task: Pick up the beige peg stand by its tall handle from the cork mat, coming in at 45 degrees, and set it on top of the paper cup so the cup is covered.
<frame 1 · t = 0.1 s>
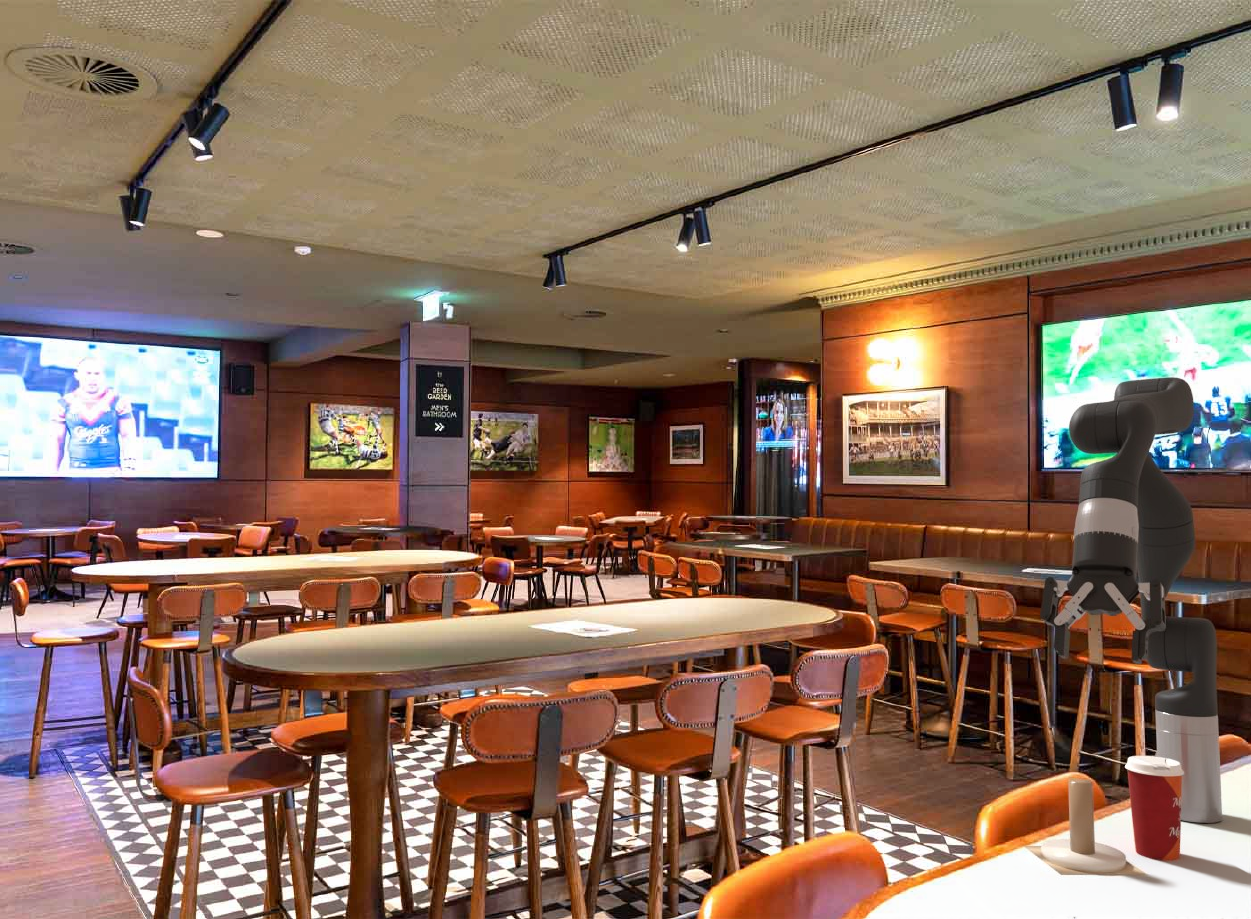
hand: (1098, 659, 120), 31 cm above the table, tool tilted 20°, fingers open, 8 cm apart
cork mat: (1083, 864, 137), on the table
beige peg stand: (1082, 859, 137), point 1 cm above the table, touching cork mat
paper cup: (1157, 859, 140), on the table
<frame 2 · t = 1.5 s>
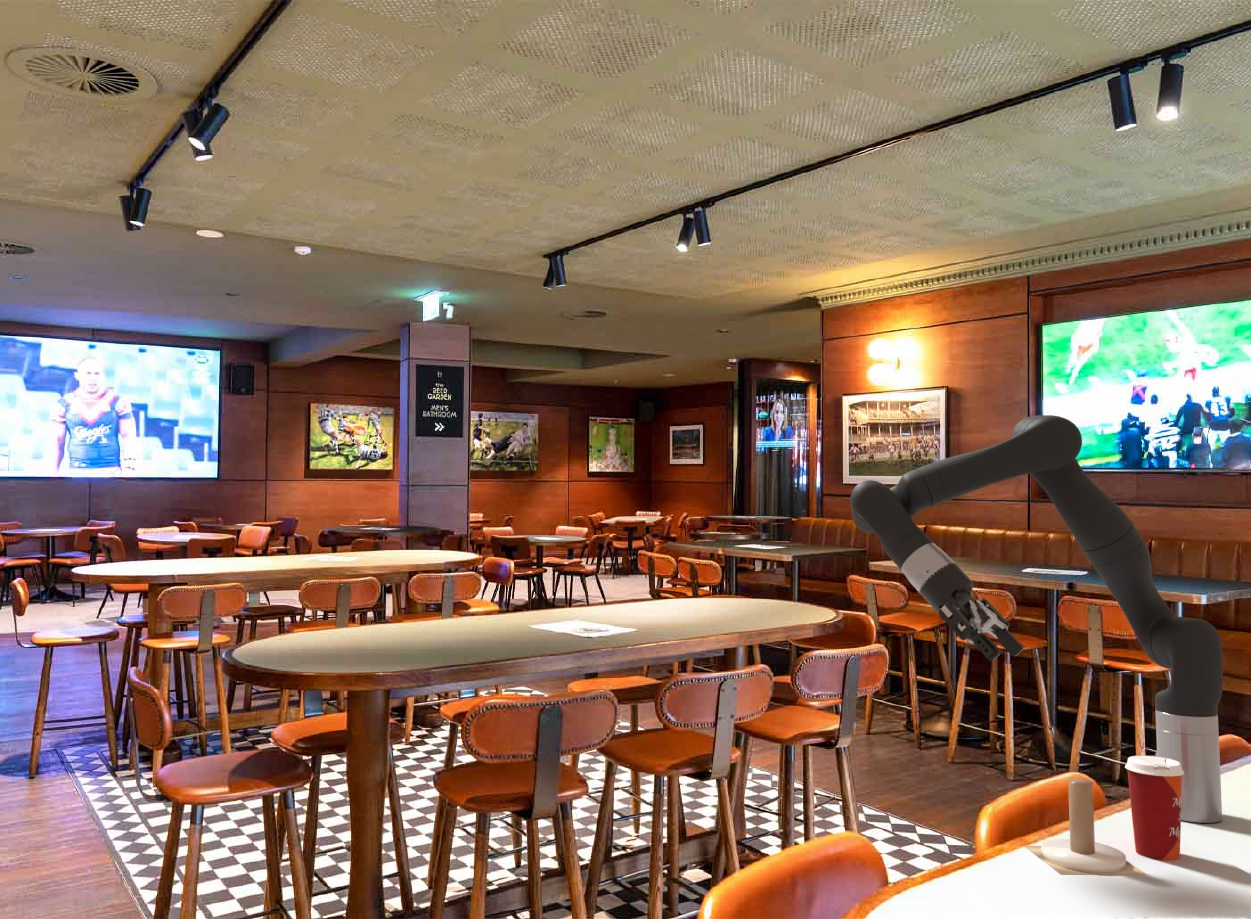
hand: (1007, 655, 147), 29 cm above the table, tool tilted 45°, fingers open, 8 cm apart
nothing on the table moved.
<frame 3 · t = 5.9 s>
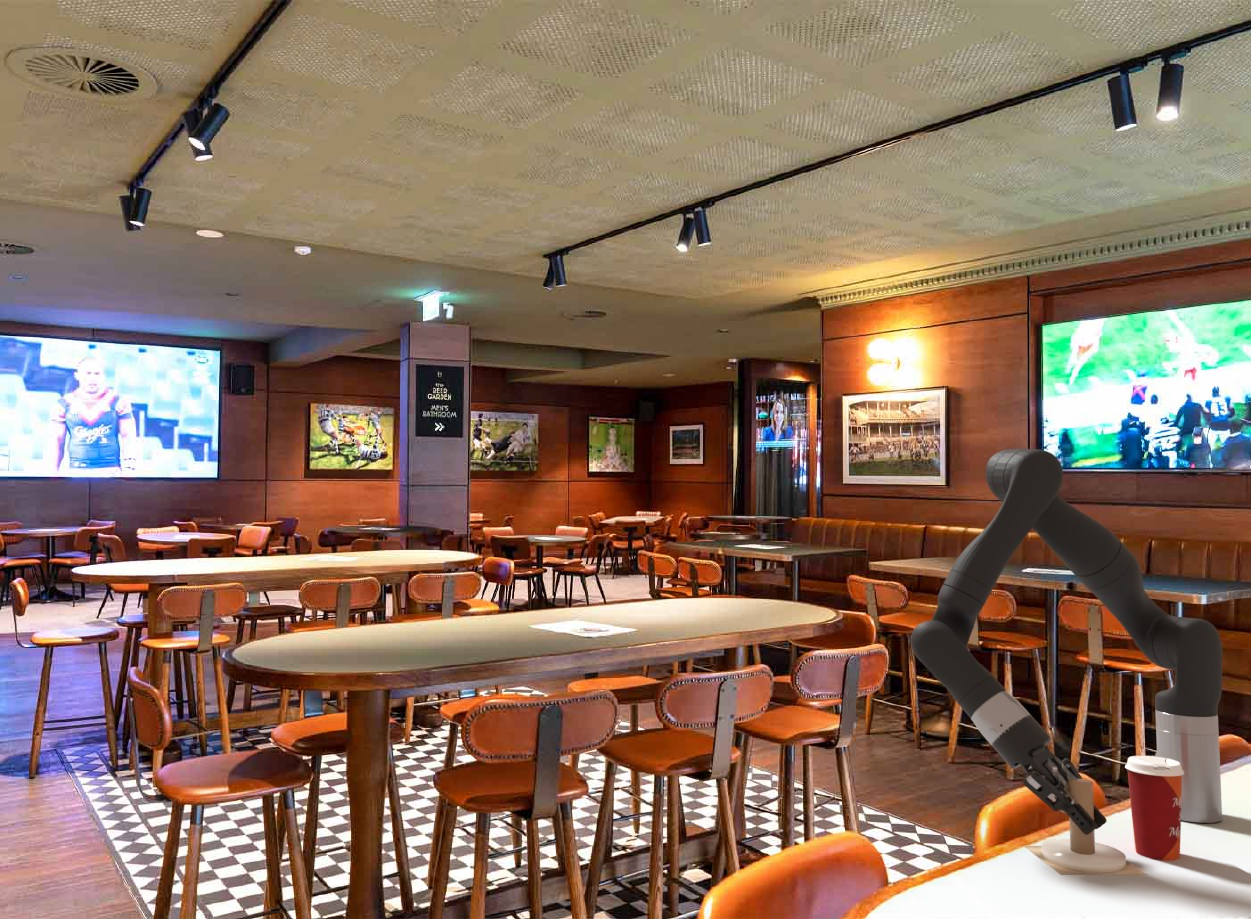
hand: (1096, 827, 136), 5 cm above the table, tool tilted 45°, fingers closed on beige peg stand, 3 cm apart
beige peg stand: (1082, 859, 137), point 1 cm above the table, touching cork mat, gripper
everything else where it was.
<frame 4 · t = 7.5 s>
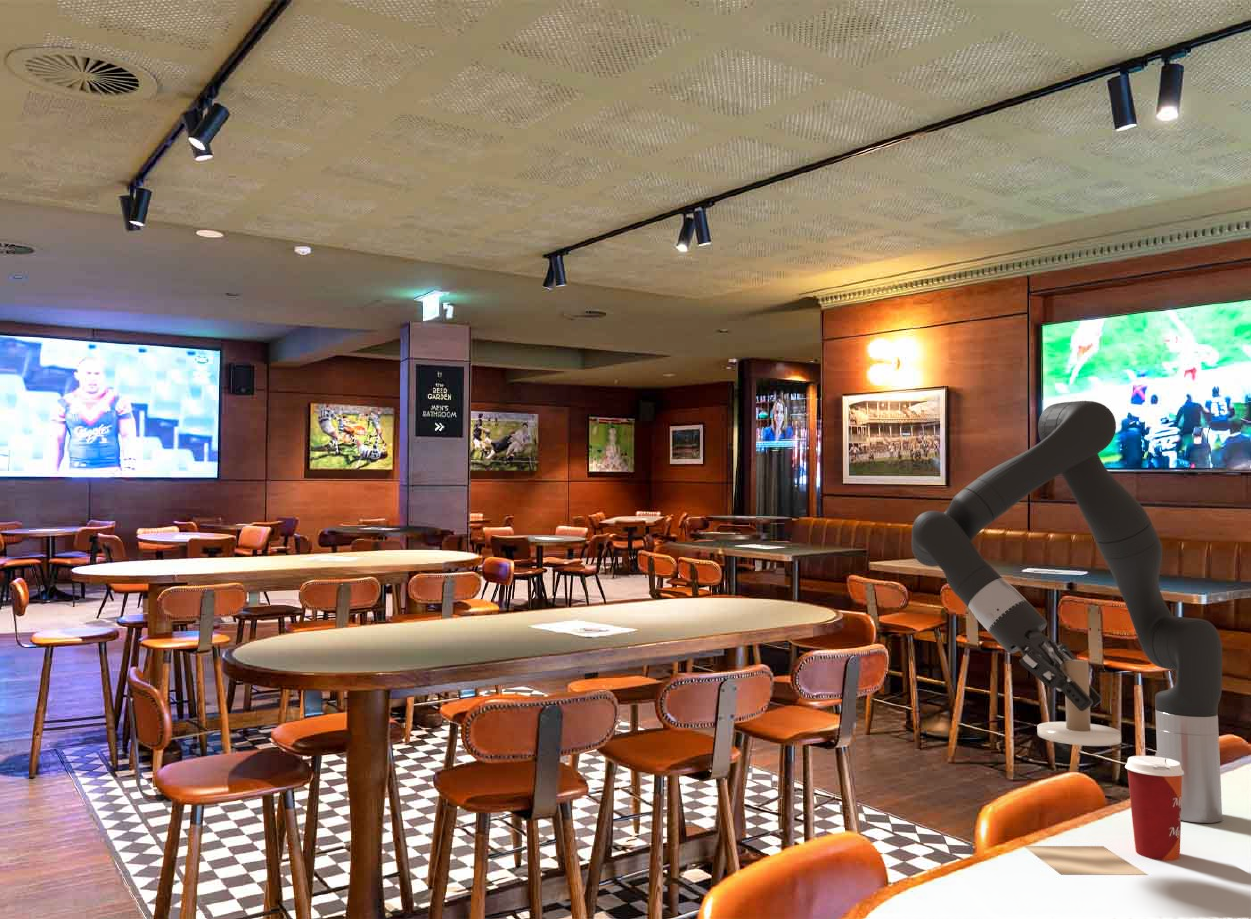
hand: (1092, 705, 137), 23 cm above the table, tool tilted 45°, fingers closed on beige peg stand, 3 cm apart
beige peg stand: (1078, 737, 138), point 18 cm above the table, touching gripper
everything else where it was.
when the fingers open (20 cm above the table, at t = 9.5 s): beige peg stand drops 1 cm, resting on paper cup.
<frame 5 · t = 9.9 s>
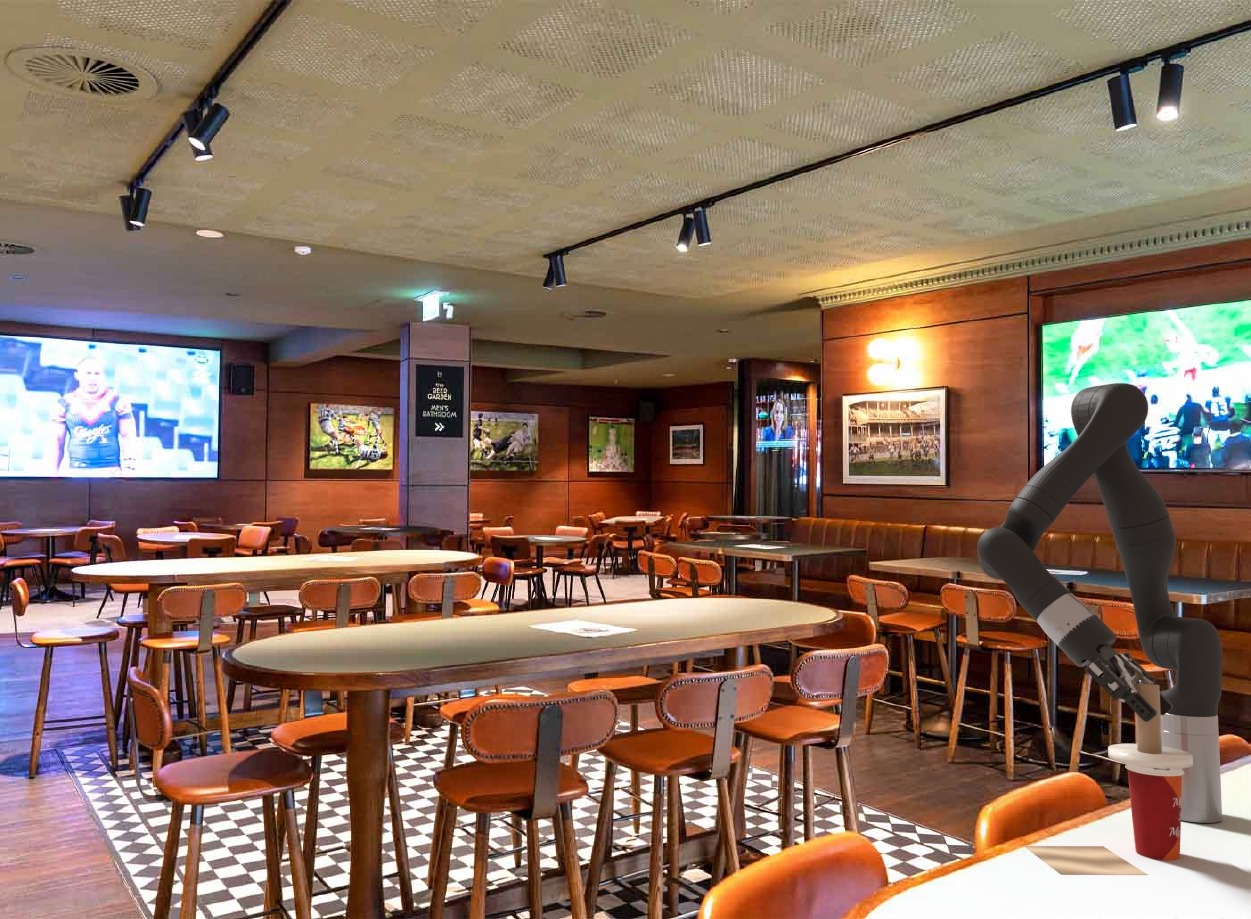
hand: (1160, 714, 140), 21 cm above the table, tool tilted 45°, fingers open, 7 cm apart
beige peg stand: (1149, 759, 141), point 14 cm above the table, touching paper cup
paper cup: (1157, 859, 140), on the table, touching beige peg stand
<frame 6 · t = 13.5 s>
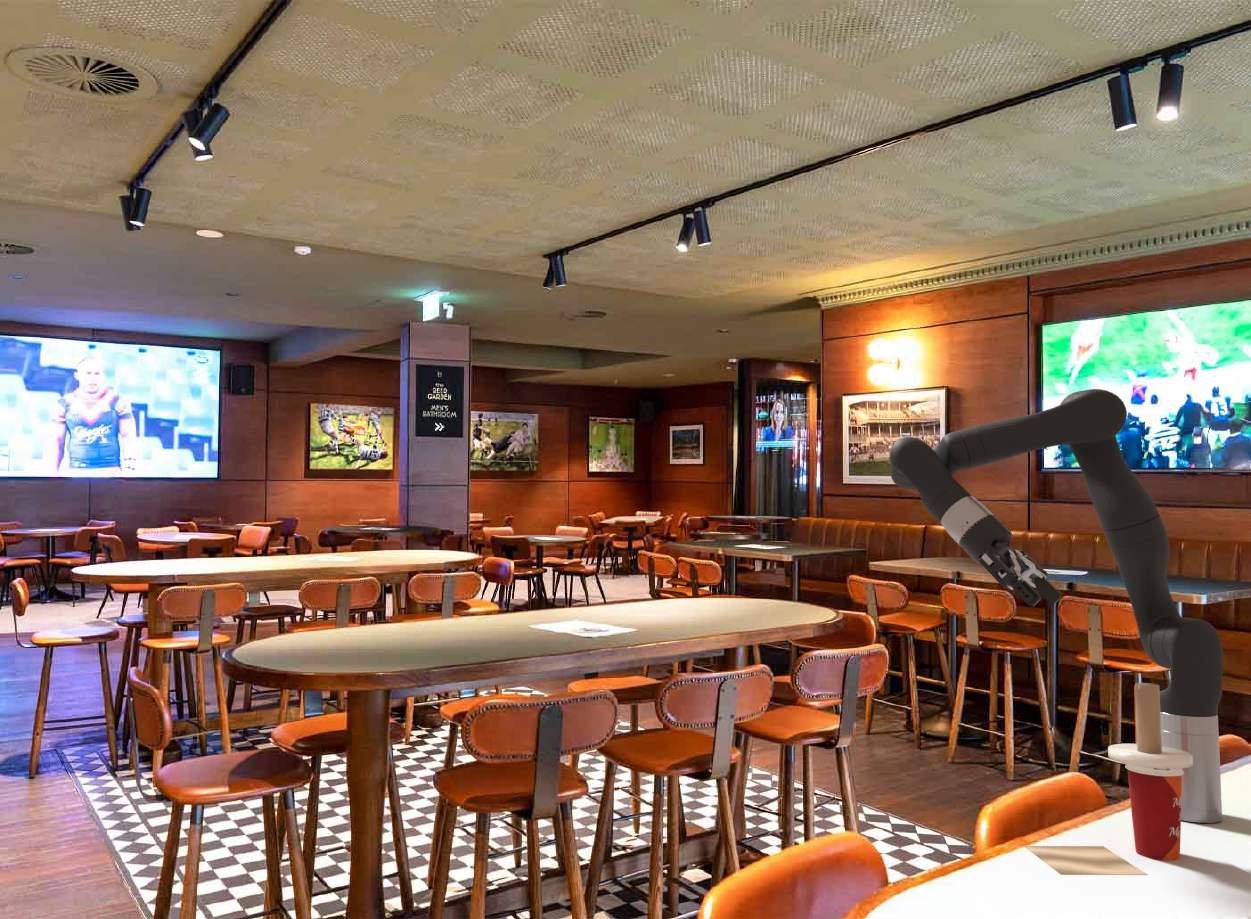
hand: (1047, 601, 151), 37 cm above the table, tool tilted 45°, fingers open, 8 cm apart
nothing on the table moved.
at the end: beige peg stand inside the target area on the paper cup (0.5 cm from its centre), point 14.2 cm above the paper cup's base; beige peg stand tilted 0°; paper cup tilted 0° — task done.
